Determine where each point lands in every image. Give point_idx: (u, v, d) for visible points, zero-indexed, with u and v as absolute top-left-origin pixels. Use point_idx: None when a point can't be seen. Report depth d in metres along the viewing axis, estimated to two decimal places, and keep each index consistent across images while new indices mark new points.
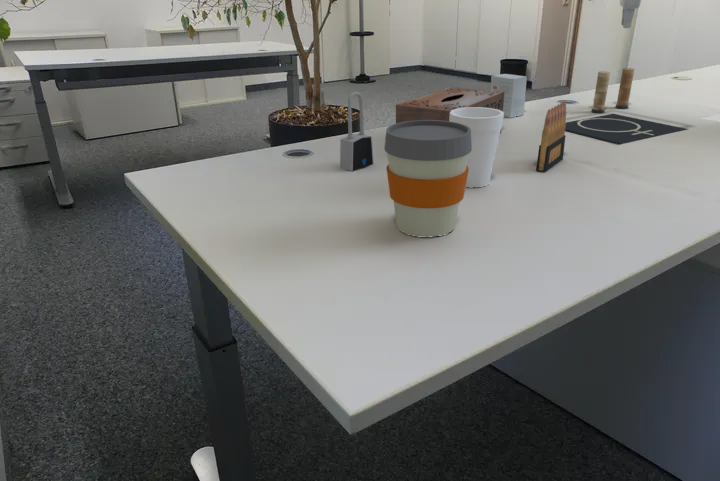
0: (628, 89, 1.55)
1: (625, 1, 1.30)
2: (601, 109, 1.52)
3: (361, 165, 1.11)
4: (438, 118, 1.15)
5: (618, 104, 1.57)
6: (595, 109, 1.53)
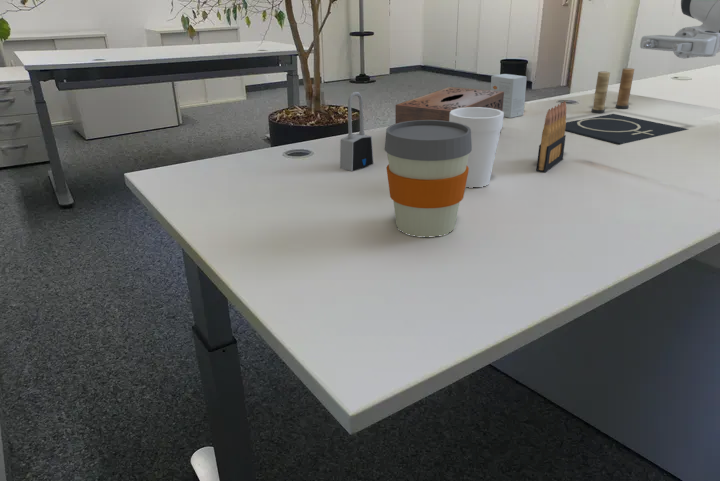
0: (628, 89, 1.55)
1: None
2: (601, 109, 1.52)
3: (361, 165, 1.11)
4: (438, 118, 1.15)
5: (618, 104, 1.57)
6: (595, 109, 1.53)
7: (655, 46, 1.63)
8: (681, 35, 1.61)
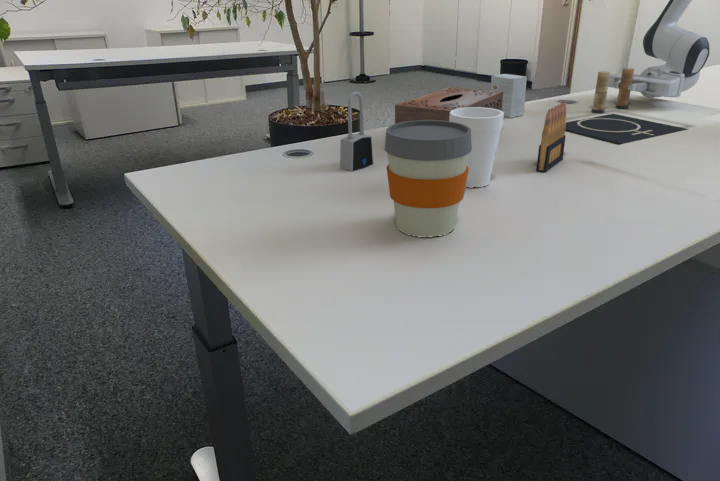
0: None
1: None
2: (601, 109, 1.52)
3: (361, 165, 1.11)
4: (437, 118, 1.15)
5: (618, 104, 1.57)
6: (595, 109, 1.53)
7: None
8: (646, 75, 1.60)
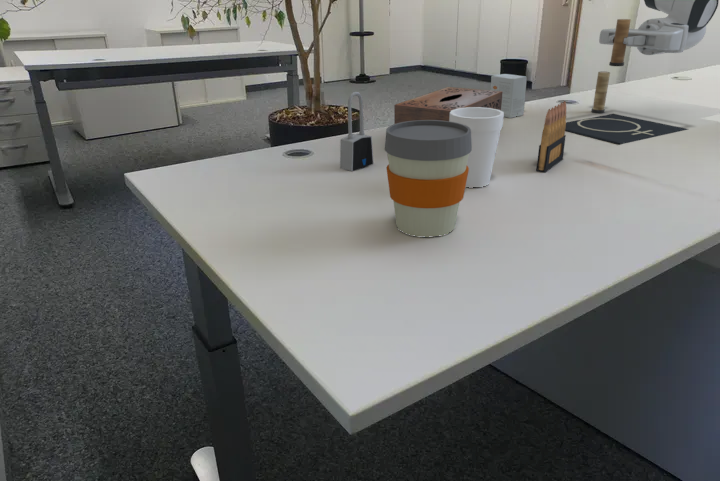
0: None
1: None
2: (601, 109, 1.52)
3: (361, 165, 1.11)
4: (437, 118, 1.15)
5: (612, 61, 1.37)
6: (595, 109, 1.53)
7: None
8: (645, 28, 1.40)
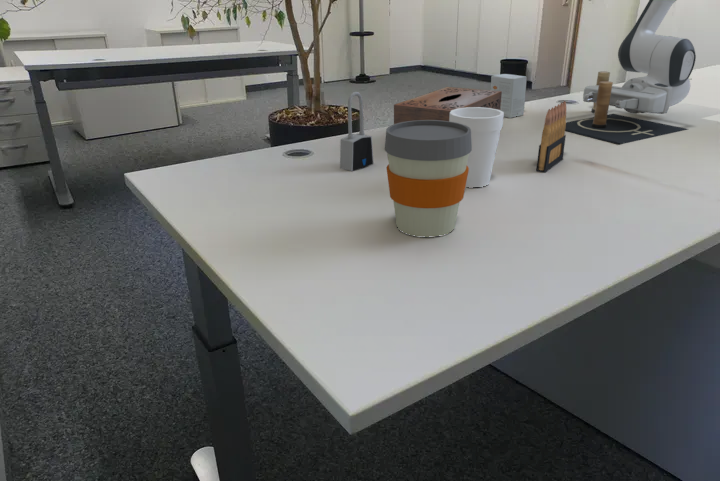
0: (606, 106, 1.33)
1: None
2: None
3: (361, 165, 1.11)
4: (436, 118, 1.15)
5: (594, 123, 1.36)
6: None
7: None
8: (628, 87, 1.38)
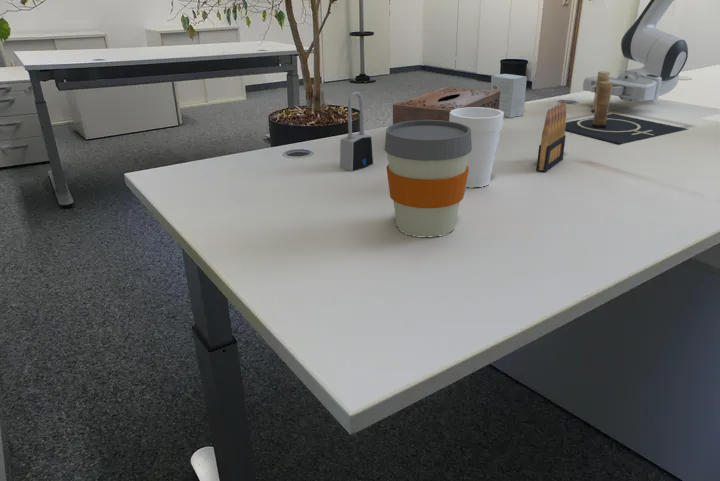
0: (606, 106, 1.33)
1: None
2: None
3: (361, 165, 1.11)
4: (435, 118, 1.15)
5: (594, 123, 1.36)
6: None
7: None
8: (623, 78, 1.55)
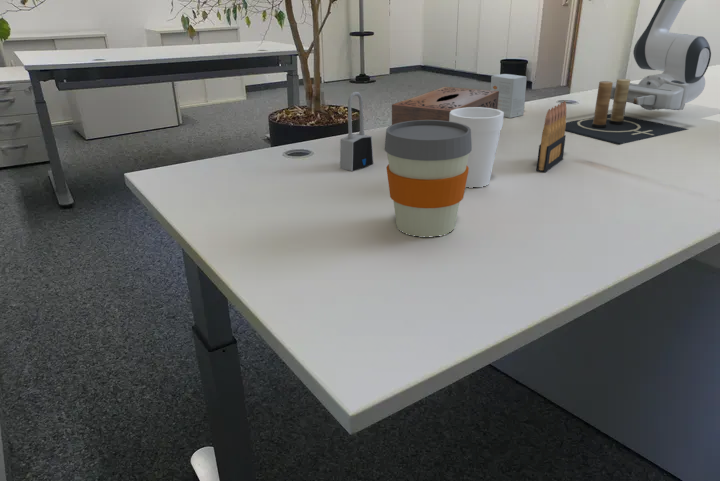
0: (606, 106, 1.33)
1: None
2: (620, 120, 1.38)
3: (361, 165, 1.11)
4: (434, 117, 1.15)
5: (594, 123, 1.36)
6: (613, 120, 1.39)
7: None
8: (645, 84, 1.41)
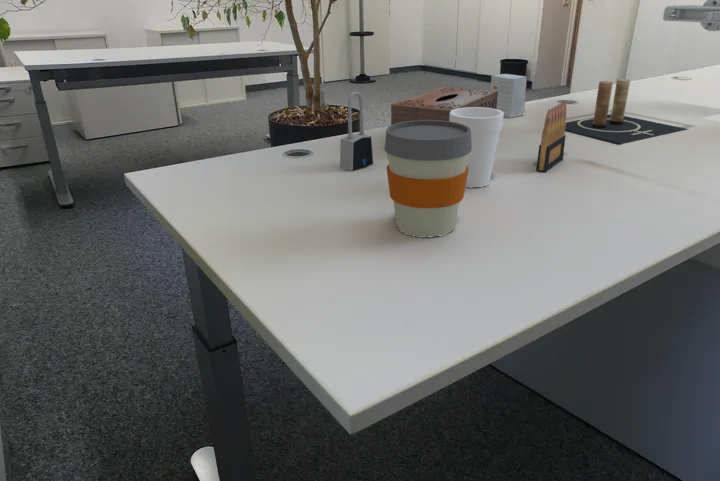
0: (606, 106, 1.33)
1: None
2: (620, 120, 1.38)
3: (361, 165, 1.11)
4: (434, 117, 1.16)
5: (594, 123, 1.36)
6: (613, 120, 1.39)
7: (681, 17, 1.44)
8: (711, 4, 1.42)
